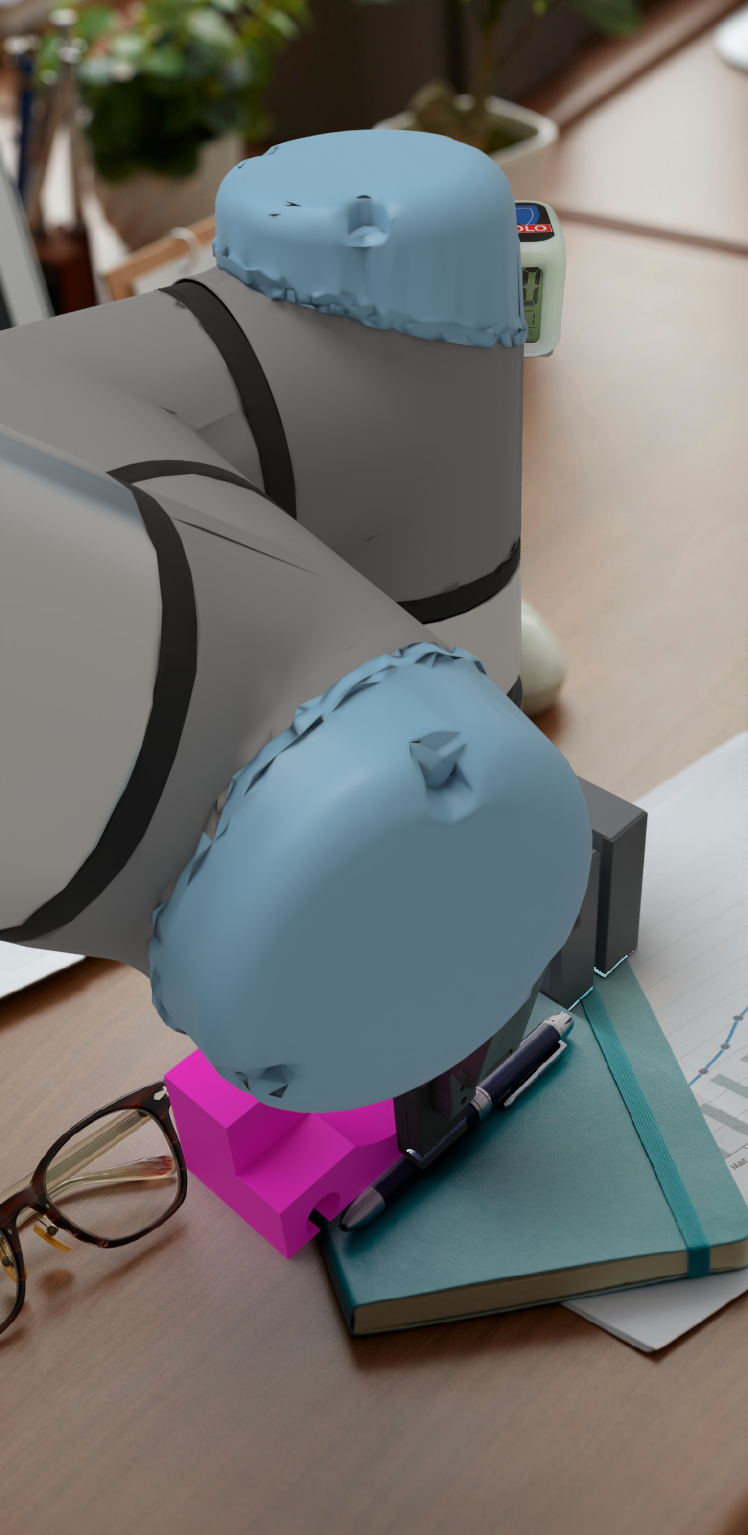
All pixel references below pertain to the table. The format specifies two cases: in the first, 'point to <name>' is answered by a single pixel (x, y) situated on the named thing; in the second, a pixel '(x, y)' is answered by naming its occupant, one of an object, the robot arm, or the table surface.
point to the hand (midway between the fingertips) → (432, 1139)
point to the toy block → (276, 1152)
